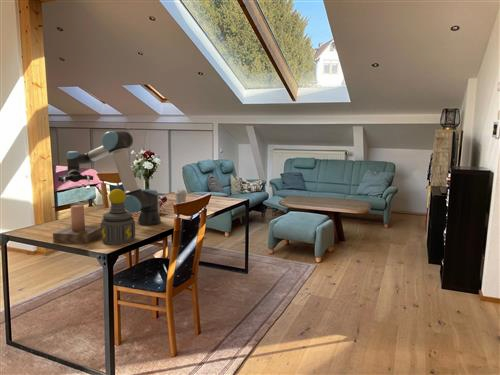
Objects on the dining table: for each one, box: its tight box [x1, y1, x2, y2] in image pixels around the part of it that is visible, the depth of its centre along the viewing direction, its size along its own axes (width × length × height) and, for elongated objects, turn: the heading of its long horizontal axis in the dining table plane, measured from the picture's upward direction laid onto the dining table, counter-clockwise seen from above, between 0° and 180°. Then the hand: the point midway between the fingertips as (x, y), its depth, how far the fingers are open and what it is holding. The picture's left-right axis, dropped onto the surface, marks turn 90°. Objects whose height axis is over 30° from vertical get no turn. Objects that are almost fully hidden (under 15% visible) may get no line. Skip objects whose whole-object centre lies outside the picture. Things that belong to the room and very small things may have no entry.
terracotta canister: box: [70, 204, 86, 231], centre depth 218 cm, size 7×7×14 cm
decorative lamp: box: [100, 188, 136, 245], centre depth 215 cm, size 19×19×30 cm
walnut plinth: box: [52, 224, 101, 244], centre depth 219 cm, size 20×18×5 cm
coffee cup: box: [174, 189, 187, 203], centre depth 306 cm, size 10×10×15 cm
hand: (76, 180), depth 233 cm, fingers open, 13 cm apart
